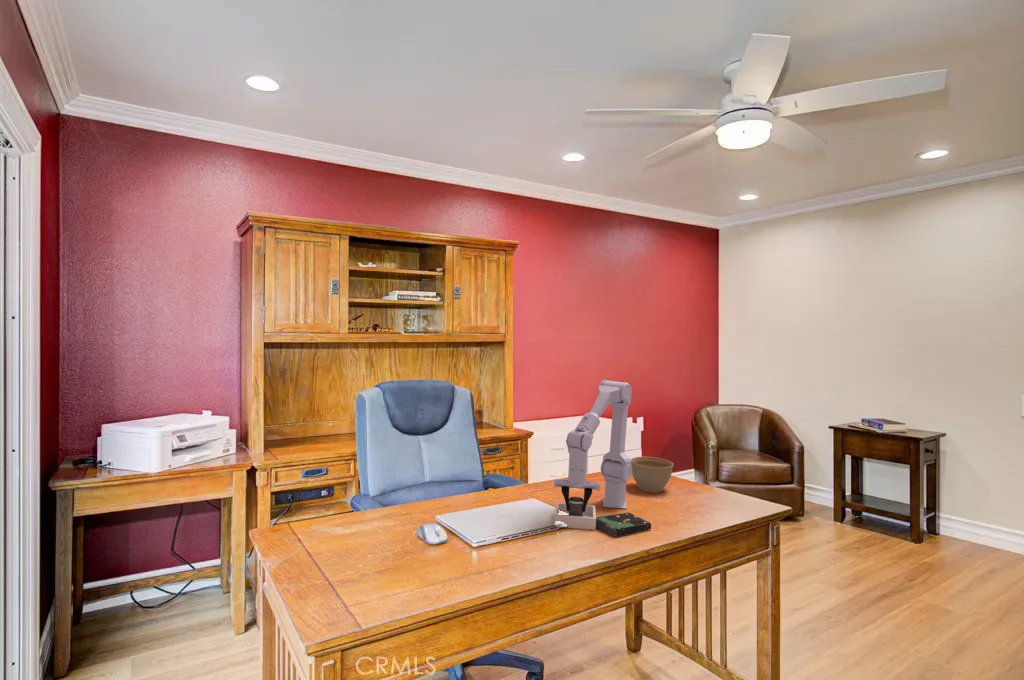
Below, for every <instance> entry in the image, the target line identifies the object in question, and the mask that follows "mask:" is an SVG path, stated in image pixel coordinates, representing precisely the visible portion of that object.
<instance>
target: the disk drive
mask: <svg viewBox="0 0 1024 680" xmlns="http://www.w3.org/2000/svg"><path fill="white" fill-rule="evenodd" d="M596 527H597V528H598V529H601V530H603V531H605V532H606V533H608V534H610V535H612V536H614V537H621V536H622V537H623V536H628V535H627V534H629V535H632V534H631V533H634V534H637V533H636V532H639V531H643V532H645V531H644V530H648V529H652V523H651V522H650V521H647V520H645V519H643V518H641V517H639V516H638V517H637V516H635V515H634V514H633V513H631V512H624V513H616V514H609V515H602V516H601V515H600V516H596ZM648 531H649V530H648ZM639 533H640V532H639Z"/></svg>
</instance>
